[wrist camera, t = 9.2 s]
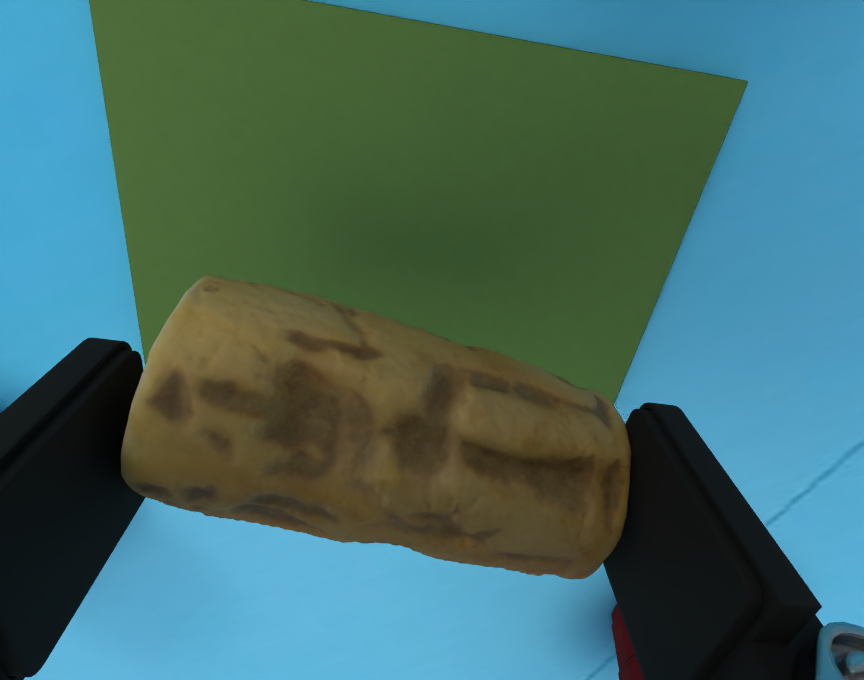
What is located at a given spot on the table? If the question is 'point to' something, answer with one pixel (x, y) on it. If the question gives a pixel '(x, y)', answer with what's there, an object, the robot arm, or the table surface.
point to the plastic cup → (624, 649)
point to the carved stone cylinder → (373, 434)
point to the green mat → (406, 171)
